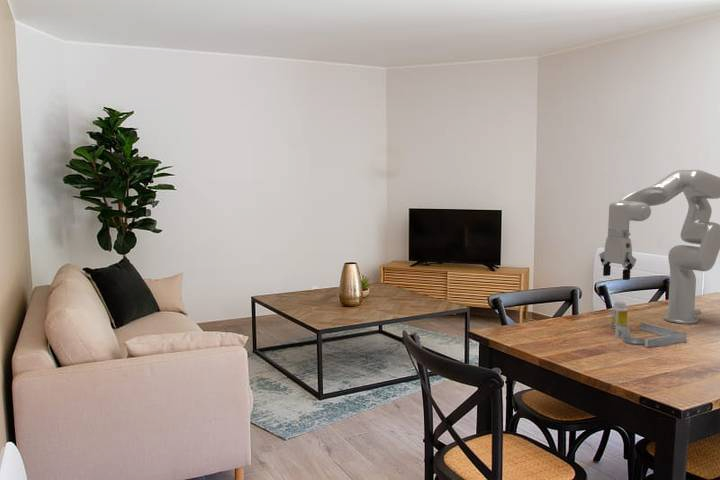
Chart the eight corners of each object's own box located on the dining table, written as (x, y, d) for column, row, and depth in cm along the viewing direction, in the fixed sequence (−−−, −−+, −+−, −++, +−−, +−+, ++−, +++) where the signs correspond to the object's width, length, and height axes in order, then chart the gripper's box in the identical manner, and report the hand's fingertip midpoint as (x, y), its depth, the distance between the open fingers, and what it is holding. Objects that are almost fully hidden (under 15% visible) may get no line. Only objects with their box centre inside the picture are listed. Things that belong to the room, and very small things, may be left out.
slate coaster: (634, 337, 216) (634, 336, 216) (652, 343, 209) (652, 342, 209) (618, 340, 213) (618, 338, 213) (635, 346, 206) (635, 344, 206)
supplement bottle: (629, 328, 230) (630, 303, 229) (622, 330, 226) (623, 305, 225) (615, 325, 234) (616, 300, 233) (608, 327, 231) (609, 302, 230)
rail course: (642, 329, 228) (643, 321, 228) (686, 341, 211) (686, 333, 210) (605, 334, 221) (605, 326, 221) (647, 347, 204) (647, 339, 203)
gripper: (643, 235, 218) (641, 280, 220) (608, 231, 234) (606, 273, 236) (629, 236, 216) (626, 281, 217) (594, 232, 231) (592, 274, 233)
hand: (616, 277), depth 227 cm, fingers open, 9 cm apart
